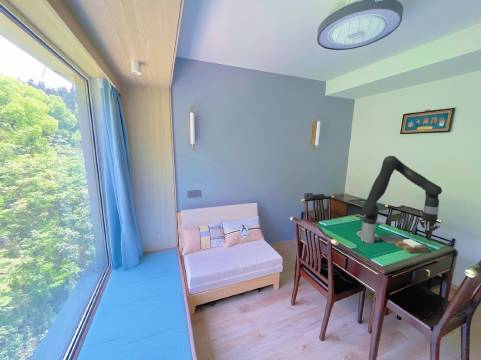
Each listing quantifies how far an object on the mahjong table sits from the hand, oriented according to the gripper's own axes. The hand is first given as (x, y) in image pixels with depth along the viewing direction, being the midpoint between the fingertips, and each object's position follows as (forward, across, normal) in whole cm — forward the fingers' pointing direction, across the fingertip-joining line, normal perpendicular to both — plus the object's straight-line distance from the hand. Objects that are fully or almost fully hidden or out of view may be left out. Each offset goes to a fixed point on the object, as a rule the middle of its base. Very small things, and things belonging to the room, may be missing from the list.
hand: (427, 234), depth 138 cm
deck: (+16, -11, 0) cm, 20 cm away
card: (+12, -10, 0) cm, 16 cm away
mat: (+16, -27, 0) cm, 31 cm away
